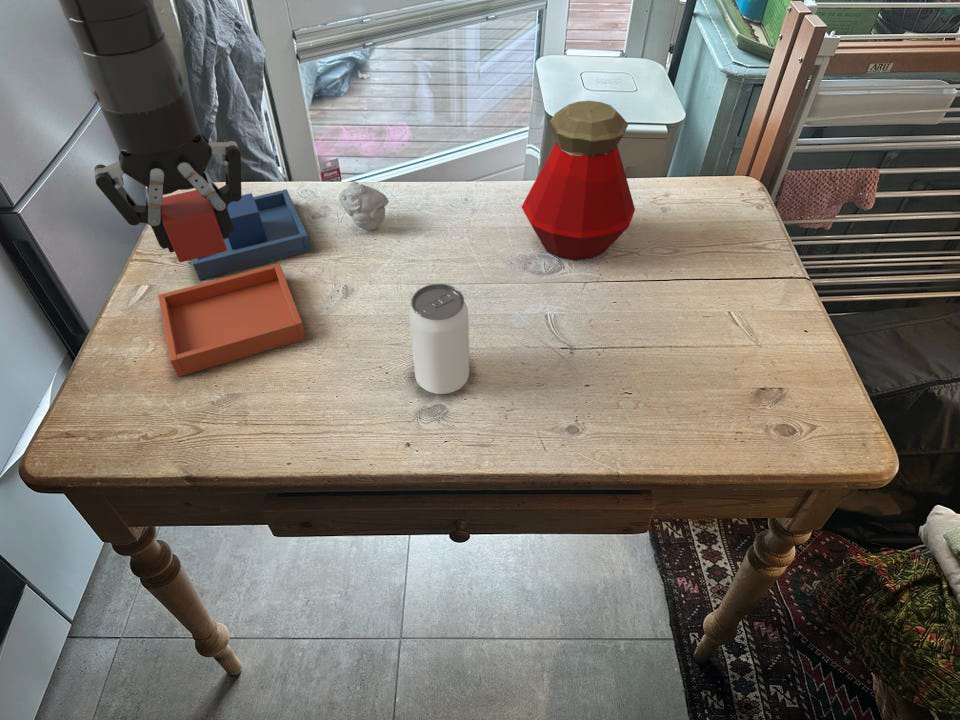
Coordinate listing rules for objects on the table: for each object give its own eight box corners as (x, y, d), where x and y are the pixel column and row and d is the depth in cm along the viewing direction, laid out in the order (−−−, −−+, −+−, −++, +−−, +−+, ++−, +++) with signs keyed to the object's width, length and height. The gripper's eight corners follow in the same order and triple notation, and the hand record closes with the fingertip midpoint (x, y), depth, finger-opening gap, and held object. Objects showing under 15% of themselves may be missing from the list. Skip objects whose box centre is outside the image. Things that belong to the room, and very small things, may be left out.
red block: (179, 263, 72) (163, 224, 68) (173, 236, 75) (157, 198, 71) (227, 251, 73) (213, 212, 69) (219, 225, 76) (206, 187, 72)
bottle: (519, 271, 94) (526, 138, 79) (519, 214, 103) (526, 85, 88) (633, 274, 93) (662, 141, 78) (623, 216, 102) (647, 87, 88)
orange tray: (178, 377, 80) (170, 361, 78) (165, 310, 88) (157, 294, 86) (306, 338, 85) (302, 322, 83) (283, 278, 93) (279, 262, 90)
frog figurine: (345, 215, 102) (338, 175, 97) (391, 213, 103) (387, 172, 98) (343, 240, 98) (335, 199, 93) (391, 237, 99) (386, 196, 94)
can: (404, 374, 81) (394, 299, 72) (445, 347, 84) (441, 272, 75) (438, 405, 77) (433, 331, 69) (480, 376, 80) (480, 302, 72)
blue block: (232, 249, 96) (222, 220, 92) (225, 230, 99) (215, 201, 95) (267, 240, 97) (258, 211, 93) (260, 221, 100) (251, 192, 96)
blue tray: (199, 280, 92) (193, 264, 90) (186, 229, 100) (180, 213, 98) (311, 251, 97) (307, 235, 95) (290, 204, 104) (286, 188, 102)
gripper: (215, 59, 65) (258, 207, 78) (54, 87, 61) (126, 238, 74) (228, 92, 61) (272, 244, 73) (55, 125, 57) (132, 279, 69)
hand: (198, 240), depth 74 cm, fingers closed on red block, 5 cm apart
